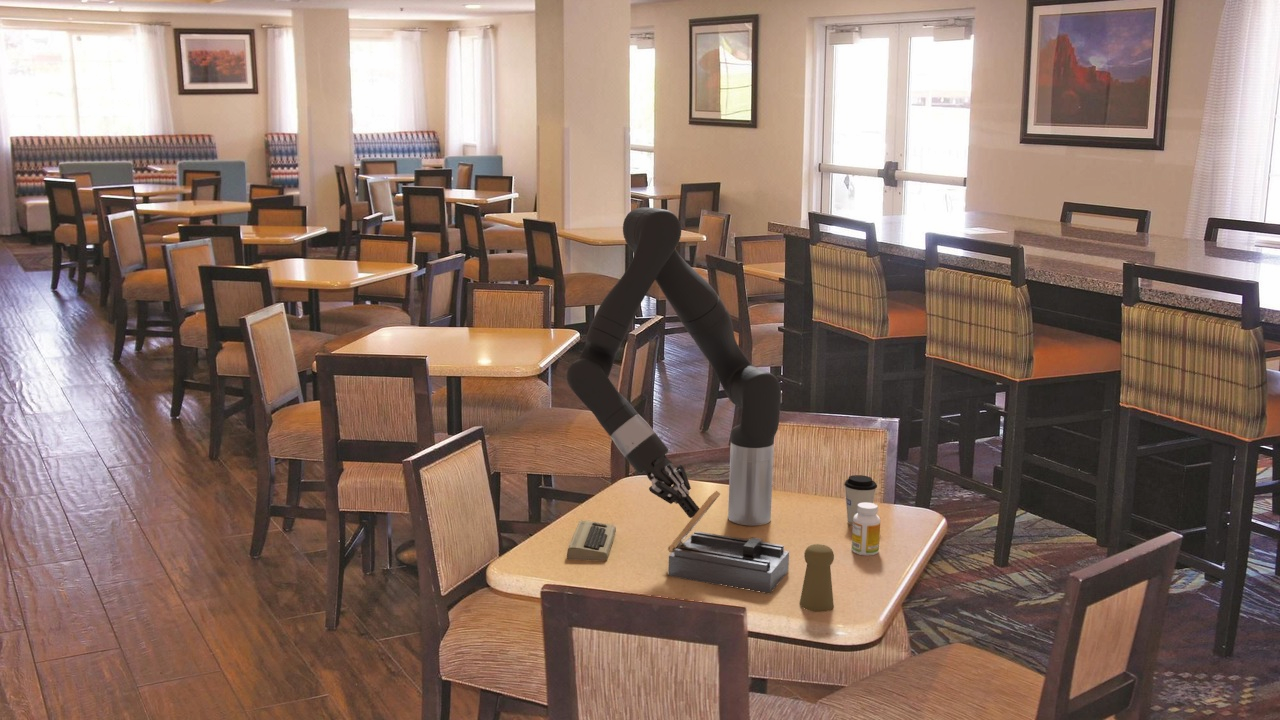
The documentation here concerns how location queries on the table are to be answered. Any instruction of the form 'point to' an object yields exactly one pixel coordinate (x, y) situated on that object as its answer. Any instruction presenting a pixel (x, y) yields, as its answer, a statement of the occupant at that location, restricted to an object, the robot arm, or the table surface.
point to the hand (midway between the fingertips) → (695, 514)
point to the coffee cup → (858, 493)
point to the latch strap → (693, 521)
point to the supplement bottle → (866, 529)
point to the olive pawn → (817, 579)
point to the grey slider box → (730, 561)
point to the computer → (591, 541)
